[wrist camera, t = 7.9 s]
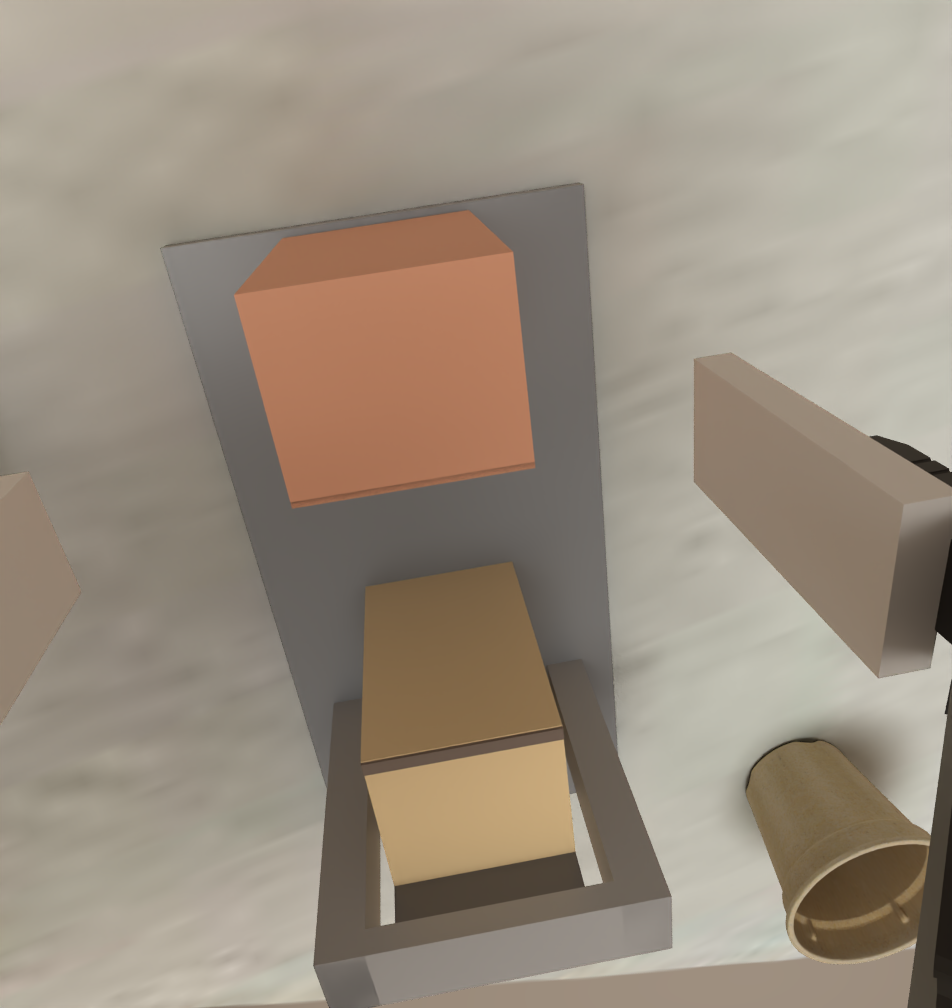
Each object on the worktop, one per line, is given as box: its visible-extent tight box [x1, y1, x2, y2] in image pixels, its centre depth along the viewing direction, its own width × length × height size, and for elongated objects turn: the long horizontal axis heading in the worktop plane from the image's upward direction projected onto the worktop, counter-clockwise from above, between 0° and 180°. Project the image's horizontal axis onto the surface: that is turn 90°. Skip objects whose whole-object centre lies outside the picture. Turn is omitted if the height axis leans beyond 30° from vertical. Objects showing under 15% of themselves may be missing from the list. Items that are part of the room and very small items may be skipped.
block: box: [234, 210, 535, 509], centre depth 25 cm, size 7×6×10 cm
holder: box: [160, 183, 672, 1008], centre depth 30 cm, size 16×32×14 cm, turn 7°
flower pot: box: [746, 741, 931, 964], centre depth 42 cm, size 9×9×9 cm
